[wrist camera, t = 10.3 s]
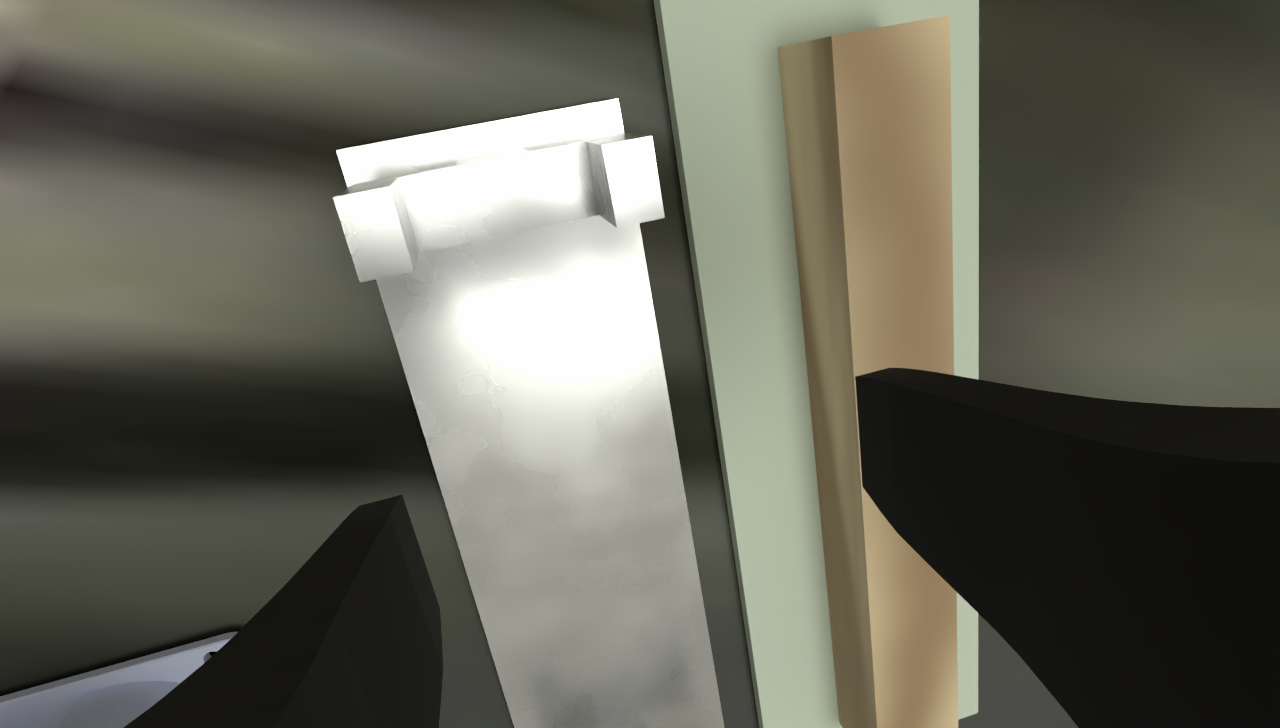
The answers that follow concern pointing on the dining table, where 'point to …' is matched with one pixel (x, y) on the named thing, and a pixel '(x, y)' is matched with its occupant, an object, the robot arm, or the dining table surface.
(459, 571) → the dining table surface
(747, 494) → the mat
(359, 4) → the dining table surface
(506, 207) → the rack
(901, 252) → the rail
